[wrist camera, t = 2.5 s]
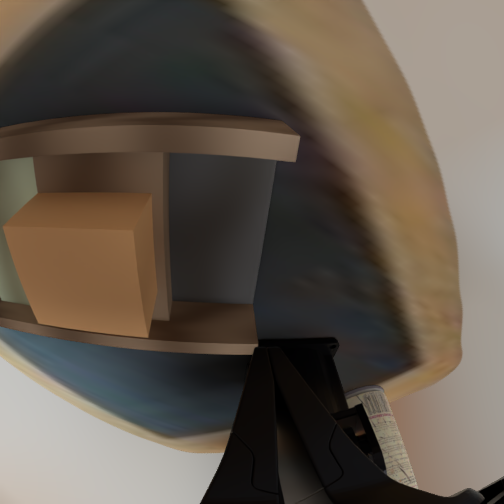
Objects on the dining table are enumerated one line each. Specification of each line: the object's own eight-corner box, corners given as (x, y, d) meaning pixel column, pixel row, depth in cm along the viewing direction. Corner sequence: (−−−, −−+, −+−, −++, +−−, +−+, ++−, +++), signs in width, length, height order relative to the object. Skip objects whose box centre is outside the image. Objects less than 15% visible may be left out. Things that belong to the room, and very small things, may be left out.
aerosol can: (326, 397, 28) (367, 568, 11) (386, 378, 27) (441, 539, 11) (328, 419, 32) (361, 560, 15) (379, 403, 31) (422, 538, 15)
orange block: (151, 193, 12) (133, 230, 10) (157, 291, 15) (148, 337, 12) (37, 193, 11) (2, 226, 9) (59, 283, 14) (38, 323, 12)
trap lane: (281, 120, 13) (300, 136, 10) (250, 312, 19) (255, 354, 16) (-59, 143, 10) (-92, 163, 7) (-19, 286, 16) (-38, 316, 13)
